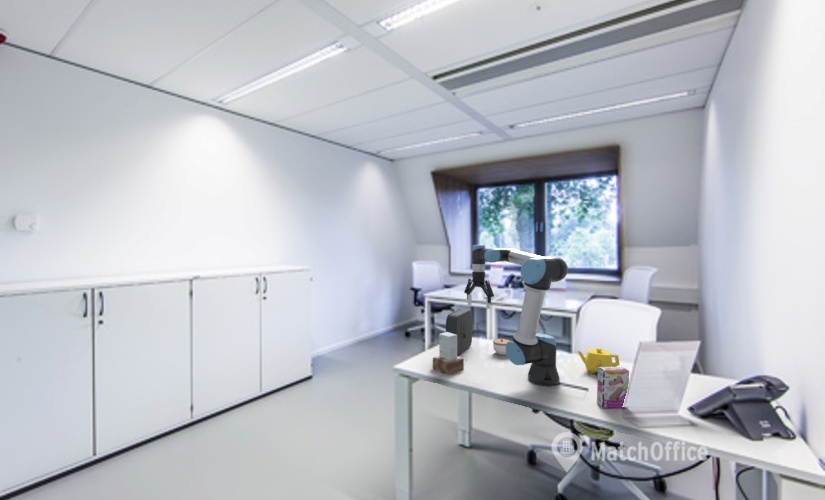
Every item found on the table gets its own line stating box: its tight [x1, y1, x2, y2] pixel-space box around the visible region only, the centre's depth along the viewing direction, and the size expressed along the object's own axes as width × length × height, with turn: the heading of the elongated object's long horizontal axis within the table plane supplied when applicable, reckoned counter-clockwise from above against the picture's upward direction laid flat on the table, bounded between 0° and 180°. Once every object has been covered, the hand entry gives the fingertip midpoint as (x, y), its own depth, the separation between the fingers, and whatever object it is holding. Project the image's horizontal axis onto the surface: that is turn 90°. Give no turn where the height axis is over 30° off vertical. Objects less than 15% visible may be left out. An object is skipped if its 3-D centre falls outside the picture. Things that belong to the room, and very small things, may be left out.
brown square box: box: [432, 355, 465, 376], centre depth 193 cm, size 12×12×6 cm
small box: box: [438, 331, 458, 360], centre depth 193 cm, size 8×6×13 cm
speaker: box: [445, 309, 473, 356], centre depth 224 cm, size 25×9×25 cm, turn 149°
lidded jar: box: [492, 338, 510, 356], centre depth 218 cm, size 11×11×9 cm
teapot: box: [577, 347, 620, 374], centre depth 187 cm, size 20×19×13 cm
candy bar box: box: [596, 366, 630, 409], centre depth 150 cm, size 11×5×16 cm, turn 92°
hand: (478, 307), depth 206 cm, fingers open, 13 cm apart
